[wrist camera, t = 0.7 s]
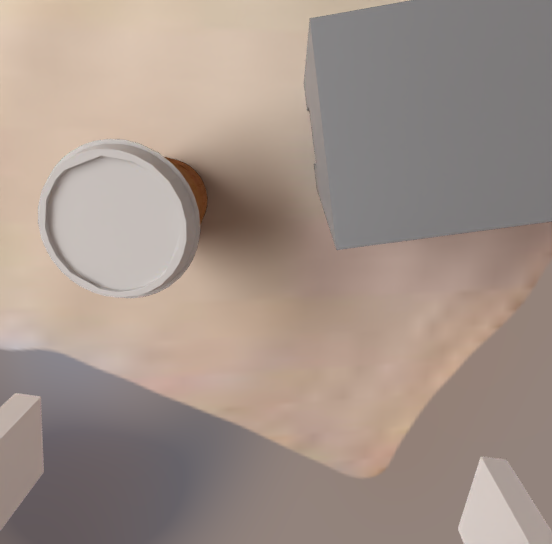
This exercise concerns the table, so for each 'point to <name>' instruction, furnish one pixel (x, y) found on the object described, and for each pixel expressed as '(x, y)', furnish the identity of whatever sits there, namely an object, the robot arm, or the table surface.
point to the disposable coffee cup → (121, 218)
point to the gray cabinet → (431, 118)
